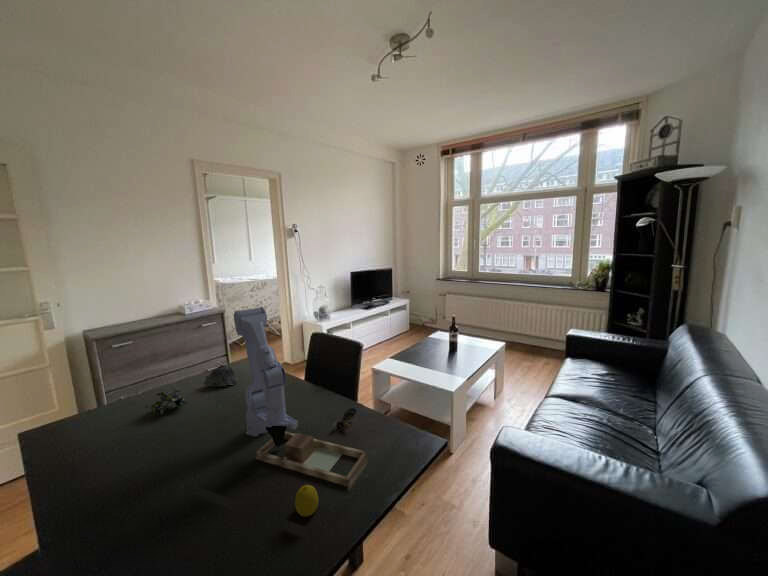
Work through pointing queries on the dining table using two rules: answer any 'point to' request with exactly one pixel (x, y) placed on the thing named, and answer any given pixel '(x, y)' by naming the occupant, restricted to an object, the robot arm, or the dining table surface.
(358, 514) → the dining table surface
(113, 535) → the dining table surface
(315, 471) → the frame
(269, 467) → the dining table surface
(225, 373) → the mineral rock
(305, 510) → the lemon
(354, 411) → the eagle figurine
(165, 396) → the passion flower
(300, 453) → the walnut block
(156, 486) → the dining table surface
